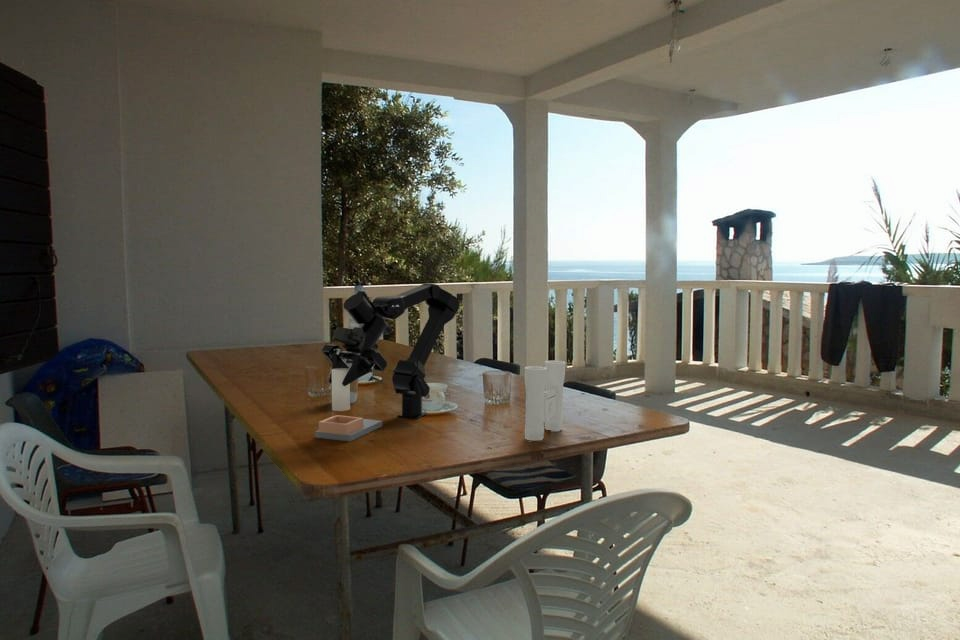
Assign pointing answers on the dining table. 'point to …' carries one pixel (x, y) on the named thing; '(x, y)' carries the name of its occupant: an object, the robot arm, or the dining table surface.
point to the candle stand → (346, 427)
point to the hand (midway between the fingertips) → (336, 383)
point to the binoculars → (544, 398)
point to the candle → (340, 390)
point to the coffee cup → (352, 385)
